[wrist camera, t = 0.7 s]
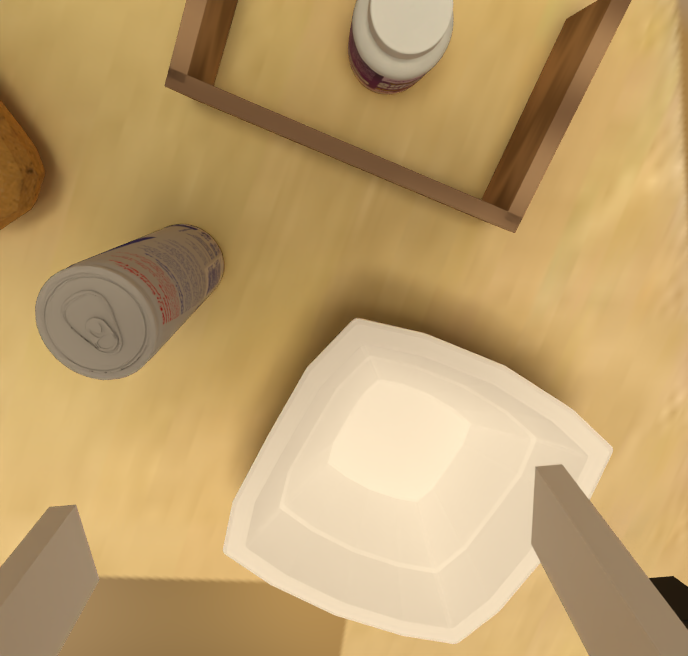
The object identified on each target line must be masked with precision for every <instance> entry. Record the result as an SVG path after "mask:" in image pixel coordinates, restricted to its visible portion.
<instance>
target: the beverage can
mask: <svg viewBox="0 0 688 656" xmlns="http://www.w3.org/2000/svg"><path fill="white" fill-rule="evenodd" d="M223 271H224V261H223V256H222V253H221V250H220V248H219V246H218V245H217V243H216V242H215V240H214V239H213V238H212V237H211V236H210V235H209V234H208V233H206V232H205V231H203V230H201V229H199V228H198V227H195V226H192V225H187V224H176V225H171V226H168V227H165V228H164V229H161V230H158V231H156V232H153V233H151V234H148V235H146V236H143V237H141V238H138V239H136V240H133V241H131V242H128V243H126V244H123V245H121V246H118V247H116V248H113V249H111V250H108V251H106V252H103V253H101V254H98V255H96V256H93V257H91V258H88V259H86V260H83V261H81V262H78V263H76V264H73V265H71V266H69V267H68V268H66V269H63V270H61V271H59V272H58V273H56V274H55V275H53V276H52V277H50V279H49V280H48V281H47V282H46V283H45V284H44V285H43V287H42V288H41V290H40V292H39V295H38V297H37V301H36V307H35V314H36V324H37V328H38V331H39V333H40V336H41V338H42V340H43V342H44V343H45V345H46V347H47V348H48V349H49V351H50V352H51V353H52V354H53V355H54V357H55V358H56V359H58V360H59V361H60V362H61V363H62V364H63V365H65V366H66V367H68V368H69V369H71V370H73V371H75V372H76V373H79V374H81V375H84V376H86V377H90V378H94V379H100V380H111V379H120V378H123V377H127V376H129V375H131V374H133V373H135V372H137V371H138V370H139V369H140V368H142V367H143V366H144V365H145V364H146V363H147V362H148V361H149V360H150V359H151V358H152V357H153V356H154V355H155V354H156V353H157V352H158V351H159V349H160V348H161V347H162V346H163V345H164V344H165V343H166V342H167V341H168V340H169V339H170V337H171V336H172V335H173V334H174V333H175V332H176V331H177V330H178V329H179V328H180V327H181V326H182V324H183V323H184V322H185V321H186V320H187V319H188V318H189V317H190V316H191V315H192V314H193V312H194V311H195V310H196V309H197V308H198V307H199V306H200V305H201V304H202V303H203V302H204V300H205V299H206V298H207V297H208V296H209V295H210V294H211V293H212V292H213V291H214V290H215V288H216V287H217V286H218V285H219V283H220V281H221V279H222V276H223Z"/></svg>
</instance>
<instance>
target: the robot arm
mask: <svg viewBox="0 0 688 656" xmlns="http://www.w3.org/2000/svg"><path fill="white" fill-rule="evenodd" d="M531 545H532V547H533V549H534V551H535V552H536V554H537V556H538V558H539V560H540V562H541V564H542V566H543V568H544V570H545V572H546V574H547V576H548V577H549V579H550V581H551V583H552V585H553V587H554V589H555V591H556V593H557V595H558V597H559V599H560V600H561V602H562V604H563V606H564V608H565V610H566V612H567V614H568V616H569V618H570V620H571V622H572V624H573V625H574V627H575V629H576V631H577V633H578V635H579V637H580V639H581V641H582V643H583V645H584V647H585V648H586V650H587V652H588V654H589V656H688V587H687V586H686V585H685V584H683V583H682V582H680V581H679V580H678V579H676V578H675V577H674V576H669V577H657V578H648V577H647V575H646V574H645V573H644V571H643V570H642V569H641V567H640V566H639V565H638V563H637V562H636V561H635V560H634V558H633V557H632V556H631V554H630V553H629V552H628V550H627V549H626V548H625V546H624V545H623V544H622V542H621V541H620V540H619V538H618V537H617V536H616V534H615V533H614V532H613V531H612V529H611V528H610V527H609V525H608V524H607V523H606V521H605V520H604V519H603V517H602V516H601V515H600V513H599V512H598V511H597V509H596V508H595V507H594V506H593V504H592V503H591V502H590V500H589V499H588V498H587V496H586V495H585V494H584V492H583V491H582V490H581V488H580V487H579V486H578V484H577V483H576V482H575V480H574V479H573V478H572V477H571V475H570V474H569V473H568V471H567V470H566V469H565V467H564V466H563V465H562V464H559V465H547V466H535V481H534V499H533V517H532V535H531ZM98 581H99V577H98V574H97V570H96V567H95V564H94V561H93V558H92V554H91V551H90V548H89V545H88V542H87V538H86V535H85V532H84V529H83V526H82V522H81V519H80V516H79V513H78V510H77V506H76V505H67V506H55V507H49V508H48V509H47V510H46V512H45V513H44V514H43V515H42V517H41V518H40V519H39V520H38V522H37V523H36V524H35V525H34V526H33V528H32V529H31V530H30V531H29V533H28V534H27V535H26V536H25V538H24V539H23V540H22V541H21V543H20V544H19V545H18V546H17V548H16V549H15V550H14V551H13V552H12V554H11V555H10V556H9V557H8V559H7V560H6V561H5V562H4V564H3V565H2V566H1V567H0V656H58V654H59V652H60V651H61V649H62V647H63V645H64V643H65V641H66V640H67V638H68V636H69V634H70V632H71V631H72V629H73V627H74V625H75V623H76V621H77V619H78V618H79V616H80V614H81V612H82V611H83V609H84V607H85V605H86V603H87V601H88V600H89V598H90V596H91V594H92V592H93V591H94V589H95V587H96V585H97V583H98Z"/></svg>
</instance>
